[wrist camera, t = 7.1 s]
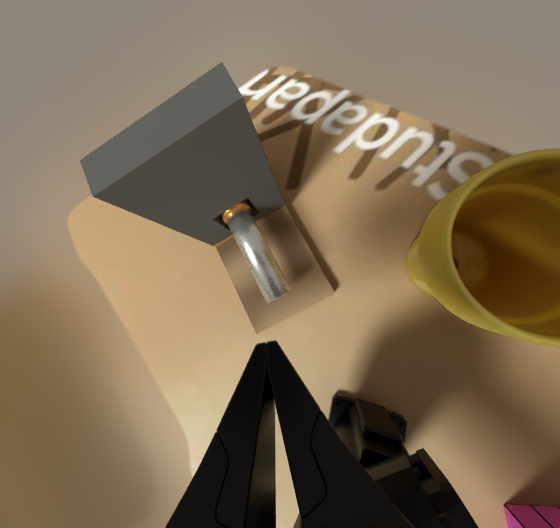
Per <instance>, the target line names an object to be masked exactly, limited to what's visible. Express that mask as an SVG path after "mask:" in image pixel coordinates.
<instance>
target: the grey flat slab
mask: <svg viewBox="0 0 560 528" xmlns="http://www.w3.org/2000/svg"><path fill="white" fill-rule="evenodd" d="M80 162H81V165H82V167H83V170H84V173H85V176H86V179H87V181H88V184H89V187H90V190H91V193H92V195H93V197H95V198H98V199H100V200H102V201H105V202H107V203H110V204H112V205H115V206H117V207H120V208H122V209H124V210H127V211H129V212H132V213H134V214H137V215H139V216H142V217H144V218H146V219H149V220H151V221H154V222H156V223H159V224H161V225H164V226H166V227H168V228H171V229H173V230H176V231H178V232H181V233H183V234H186V235H188V236H190V237H193V238H195V239H198V240H200V241H203V242H205V243H207V244H210V245H212V246H214V245H216V244H218V243H220V242H221V241H223V240H225V239H226V238H228V237H230V236H232V235H233V234H232V232H231V230H230V228H229V226H228V224H226V223H224V221H223V219H222V217H221V215H220V214H222V213H224V212H225V211H227V210H229V209H230V208H232V207H234V206H235V205H237V204H239V203H240V202H242V201H244V200H245V199H246V200H247V202H248V204H249V206H250V208H251V214H252V216H253V218H254V220H255V221H257V220H259V219H260V218H262V217H264V216H266V215H267V214H269V213H271V212H272V211H274V210H276V209H278V208H279V207H281V206H283V205H284V204H285V203H284V201H283V198H282V196H281V193H280V191H279V188H278V186H277V183H276V181H275V178H274V175H273V173H272V170H271V168H270V165H269V163H268V160H267V158H266V155H265V153H264V150H263V148H262V145H261V143H260V140H259V137H258V135H257V132H256V130H255V127H254V125H253V122H252V120H251V117H250V115H249V112H248V110H247V107H246V104H245V102H244V99H243V97H242V95H241V94H240V92H239V90H238V89H237V87H236V85H235V83H234V82H233V80H232V79H231V77H230V75H229V73H228V72H227V70H226V68H225V67H224V65H223V64H222V62H221V63H220V64H218V65H217V66H215V67H214V68H212V69H211V70H210V71H208V72H207V73H205V74H204V75H202V76H201V77H199V78H198V79H197V80H195V81H194V82H192V83H191V84H190V85H188V86H186V87H185V88H184V89H182V90H181V91H179V92H178V93H176V94H175V95H174V96H172V97H171V98H169V99H168V100H166V101H165V102H163V103H162V104H160V105H159V106H158V107H156V108H155V109H153V110H152V111H150V112H149V113H147V114H146V115H145V116H143V117H142V118H140V119H139V120H137V121H136V122H135V123H133V124H132V125H130V126H129V127H127V128H126V129H124V130H123V131H122V132H120V133H119V134H117V135H116V136H115V137H113V138H111V139H110V140H109V141H107V142H106V143H104V144H103V145H101V146H100V147H98V148H97V149H96V150H94V151H93V152H91V153H90V154H88V155H87V156H86V157H84V158H83V159H81V160H80Z"/></svg>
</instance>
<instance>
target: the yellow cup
mask: <svg viewBox="0 0 560 528" xmlns="http://www.w3.org/2000/svg"><path fill="white" fill-rule="evenodd" d="M406 266H407V271H408V274H409V276H410V278H411V279H412V281H413V282H414V283H415V285H416V286H417V287H418V288H420V289H421V290H422V291H424V292H425V293H427V294H429V295H431V296H433V297H435V298H436V299H437V300H438V301H439V302H440V303H441V304H442V305H443V306H444V307H445V308H446V309H448V310H449V311H450V312H452V313H453V314H454V315H456V316H458V317H459V318H461V319H463V320H464V321H466V322H468V323H470V324H473V325H475V326H478V327H480V328H483V329H486V330H489V331H492V332H495V333H498V334H501V335H504V336H508V337H511V338H515V339H519V340H522V341H526V342H530V343H535V344H539V345H545V346H550V347H559V348H560V149H545V150H537V151H531V152H526V153H522V154H518V155H515V156H512V157H508V158H506V159H503V160H501V161H499V162H496V163H494V164H492V165H490V166H489V167H487V168H485V169H484V170H482V171H480V172H479V173H477V174H476V175H474V176H473V177H471V178H470V179H468V180H467V181H465V182H464V183H462V184H461V185H460V186H458V187H457V188H456V189H454V190H453V191H452V192H451V193H449V194H448V195H447V196H446V197H444V198H443V199H442V200H441V201H440V202H439V203H438V204H437V205H436V206H435V207H434V208H433V210H432V211H431V212H430V214H429V215H428V217H427V218H426V220H425V222H424V225H423V227H422V229H421V232H420V235H419V237H418V238H417V239H416V240H415V241H414V242H413V243H412V245H411V246H410V248H409V251H408V254H407V258H406Z"/></svg>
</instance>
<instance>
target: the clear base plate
mask: <svg viewBox="0 0 560 528" xmlns="http://www.w3.org/2000/svg"><path fill="white" fill-rule="evenodd" d="M255 222H256V224H257V226H258V228H259V229H260V231H261V233H262V235H263V237H264V239H265V241H266V243H267V245H268V247H269V248H270V250H271V252H272V254H273V256H274V258H275V260H276V262H277V264H278V266H279V267H280V269H281V271H282V273H283V275H284V277H285V279H286V281H287V283H288V285H289V286H290V288H291V290H292V291H291V292H289V293H287V294H286V295H284V296H282V297H280V298H278V299H276V300H274V301H272V302H270V303H266V301H265V299H264V297H263V295H262V293H261V291H260V289H259V287H258V285H257V283H256V281H255V279H254V277H253V275H252V273H251V270H250V268H249V266H248V264H247V262H246V260H245V258H244V256H243V254H242V252H241V250H240V248H239V246H238V244H237V242H236V240H235V238H234V236H233V235H232V236H230V237H228V238H226V239H225V240H223V241H221V242H220V243H218V244H216V245H215V247H216V248H217V250H218V253H219V255H220V257H221V259H222V261H223V263H224V265H225V268H226V270H227V272H228V274H229V276H230V278H231V280H232V282H233V285H234V287H235V289H236V291H237V293H238V295H239V297H240V299H241V302H242V304H243V306H244V308H245V310H246V312H247V314H248V317H249V319H250V321H251V323H252V325H253V327H254V329H255V331H256V334H257V333H259V332H260V331H262V330H264V329H266V328H268V327H270V326H272V325H274V324H276V323H278V322H280V321H282V320H283V319H285V318H287V317H289V316H291V315H293V314H295V313H297V312H299V311H301V310H303V309H305V308H306V307H308V306H310V305H312V304H314V303H316V302H318V301H320V300H322V299H324V298H326V297H328V296H329V295H331V294H333V293H335V292H334V290H333V288H332V287H331V285H330V283H329V281H328V280H327V278H326V276H325V274H324V273H323V271H322V269H321V267H320V266H319V264H318V262H317V260H316V259H315V257H314V255H313V253H312V252H311V250H310V248H309V246H308V245H307V243H306V241H305V239H304V238H303V236H302V234H301V232H300V231H299V229H298V227H297V225H296V223H295V222H294V220H293V218H292V216H291V215H290V213H289V211H288V209H287V208H286V206H285V204H284V205H283V206H281V207H279V208H278V209H276V210H274V211H272V212H271V213H269V214H267V215H266V216H264V217H262V218H260V219H259V220H257V221H255Z"/></svg>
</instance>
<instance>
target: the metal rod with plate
mask: <svg viewBox="0 0 560 528" xmlns="http://www.w3.org/2000/svg"><path fill="white" fill-rule="evenodd" d="M220 215H221V217H222V219H223V221H224V223H226V224H228V226H229V228H230V230H231V232H232V234H233V236H234V238H235V240H236V242H237V244H238V246H239V248H240V250H241V252H242V254H243V256H244V258H245V260H246V262H247V264H248V266H249V268H250V270H251V273H252V275H253V277H254V279H255V281H256V283H257V285H258V287H259V289H260V291H261V293H262V295H263V297H264V299H265V301H266V303H270V302H272V301H274V300H276V299H278V298H280V297H282V296H284V295H286V294H287V293H289V292H291V291H292V290H291V288H290V286H289V285H288V283H287V281H286V279H285V277H284V275H283V273H282V271H281V269H280V267H279V266H278V264H277V262H276V260H275V258H274V256H273V254H272V252H271V250H270V248H269V247H268V245H267V243H266V241H265V239H264V237H263V235H262V233H261V231H260V229H259V228H258V226H257V224H256V222H255V220H254V218H253V216H252V214H251V208H250V206H249V204H248V202H247V200H246V199H245V200H244V201H242V202H240V203H239V204H237V205H235V206H234V207H232V208H230V209H229V210H227V211H225V212H224V213H222V214H220Z"/></svg>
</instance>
